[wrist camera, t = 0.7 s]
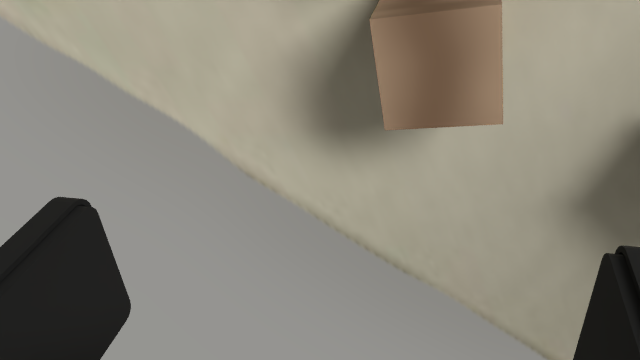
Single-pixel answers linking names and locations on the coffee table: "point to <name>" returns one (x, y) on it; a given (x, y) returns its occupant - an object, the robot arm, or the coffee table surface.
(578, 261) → the coffee table surface
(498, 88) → the walnut block
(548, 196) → the coffee table surface
